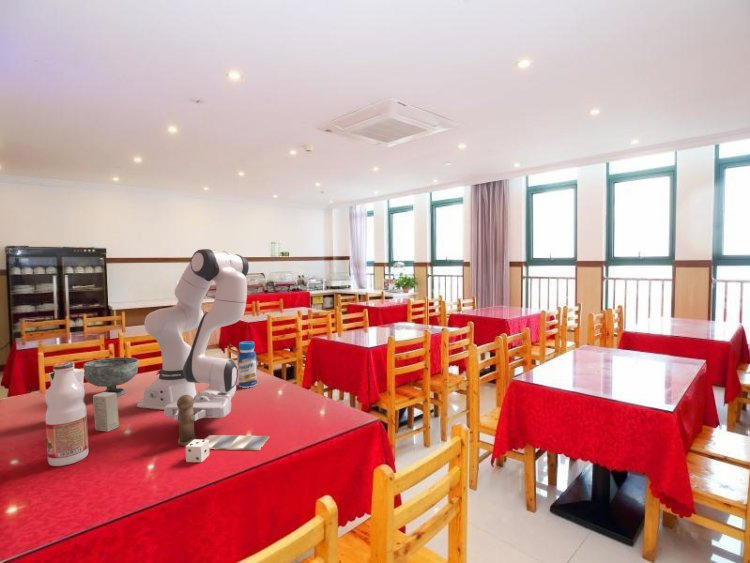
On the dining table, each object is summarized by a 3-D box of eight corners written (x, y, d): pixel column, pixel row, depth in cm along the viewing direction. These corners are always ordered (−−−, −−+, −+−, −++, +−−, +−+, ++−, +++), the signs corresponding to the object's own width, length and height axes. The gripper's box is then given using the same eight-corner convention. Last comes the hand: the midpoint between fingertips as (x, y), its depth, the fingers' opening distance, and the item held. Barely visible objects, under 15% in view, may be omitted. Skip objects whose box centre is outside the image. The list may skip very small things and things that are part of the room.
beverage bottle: (260, 382, 188) (259, 340, 187) (253, 388, 179) (251, 344, 178) (243, 382, 188) (241, 340, 187) (235, 388, 180) (233, 344, 179)
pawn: (174, 445, 123) (172, 397, 123) (183, 438, 129) (181, 392, 128) (190, 446, 123) (188, 398, 122) (199, 438, 128) (197, 392, 127)
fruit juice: (72, 467, 111) (67, 367, 110) (39, 467, 112) (33, 368, 110) (96, 451, 121) (91, 359, 120) (65, 451, 121) (60, 359, 120)
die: (185, 462, 113) (184, 446, 112) (194, 454, 117) (194, 438, 117) (202, 463, 112) (201, 446, 112) (210, 454, 117) (209, 439, 117)
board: (194, 449, 121) (194, 447, 121) (209, 436, 130) (209, 434, 130) (259, 450, 119) (259, 448, 119) (269, 437, 128) (269, 435, 128)
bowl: (147, 391, 177) (146, 358, 177) (99, 405, 161) (97, 368, 160) (125, 385, 188) (123, 353, 187) (77, 397, 172) (75, 362, 171)
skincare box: (119, 427, 139) (117, 392, 138) (107, 432, 134) (105, 396, 134) (106, 425, 141) (104, 391, 140) (93, 430, 136) (92, 395, 136)
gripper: (177, 393, 139) (152, 407, 125) (234, 393, 137) (215, 408, 123) (178, 411, 139) (153, 427, 125) (235, 412, 138) (216, 428, 124)
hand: (184, 418), depth 124 cm, fingers closed on pawn, 4 cm apart
